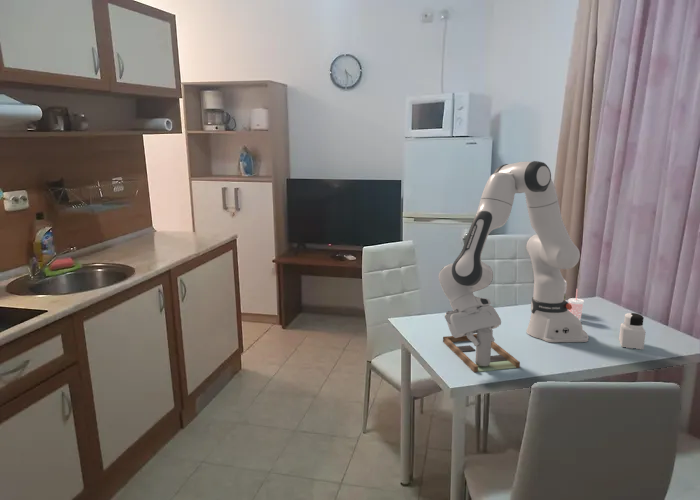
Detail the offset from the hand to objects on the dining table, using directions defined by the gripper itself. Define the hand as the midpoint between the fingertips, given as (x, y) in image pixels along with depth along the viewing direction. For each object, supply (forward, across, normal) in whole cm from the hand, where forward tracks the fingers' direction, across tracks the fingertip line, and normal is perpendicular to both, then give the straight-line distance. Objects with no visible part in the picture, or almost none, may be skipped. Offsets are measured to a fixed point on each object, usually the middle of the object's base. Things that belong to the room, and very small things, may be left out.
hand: (485, 343), depth 170 cm
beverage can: (+5, 0, +6) cm, 8 cm away
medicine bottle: (+16, +61, -3) cm, 63 cm away
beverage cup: (-4, +66, +16) cm, 68 cm away
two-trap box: (0, +6, +12) cm, 14 cm away
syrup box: (-13, +70, +25) cm, 76 cm away
